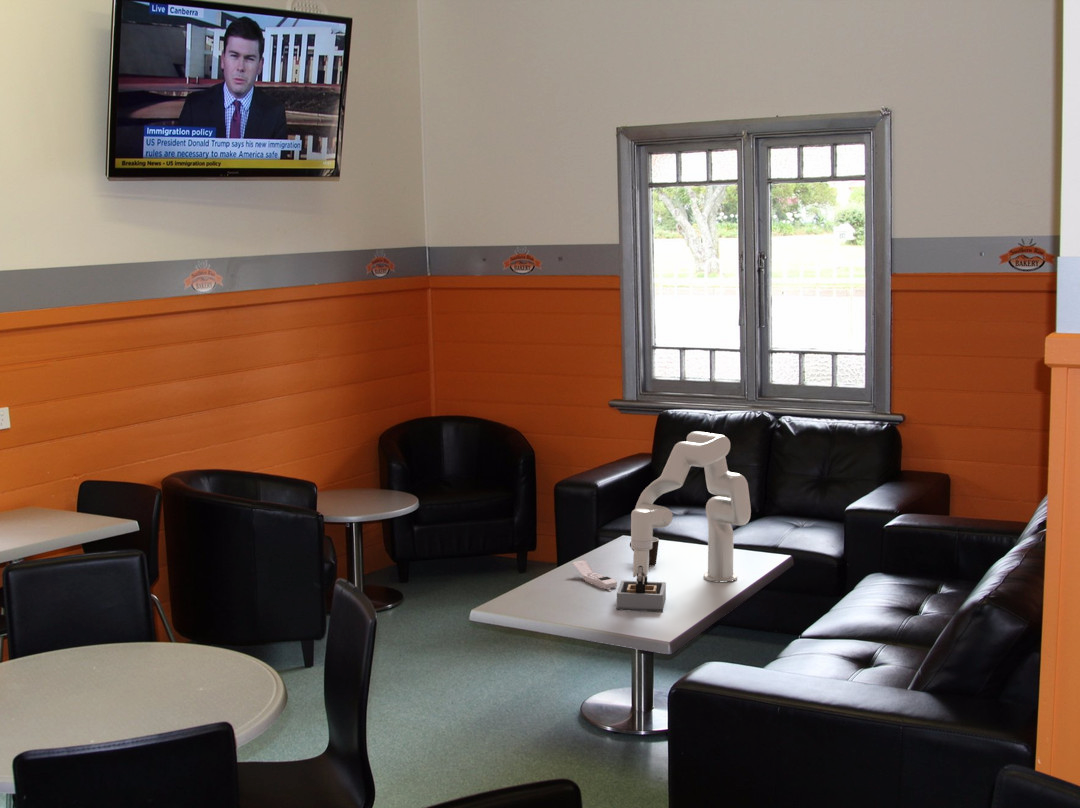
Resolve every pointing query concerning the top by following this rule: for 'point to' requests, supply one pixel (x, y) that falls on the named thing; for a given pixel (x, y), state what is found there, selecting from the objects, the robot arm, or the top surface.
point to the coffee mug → (652, 551)
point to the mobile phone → (594, 576)
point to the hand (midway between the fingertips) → (641, 590)
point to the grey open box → (641, 598)
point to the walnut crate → (648, 589)
